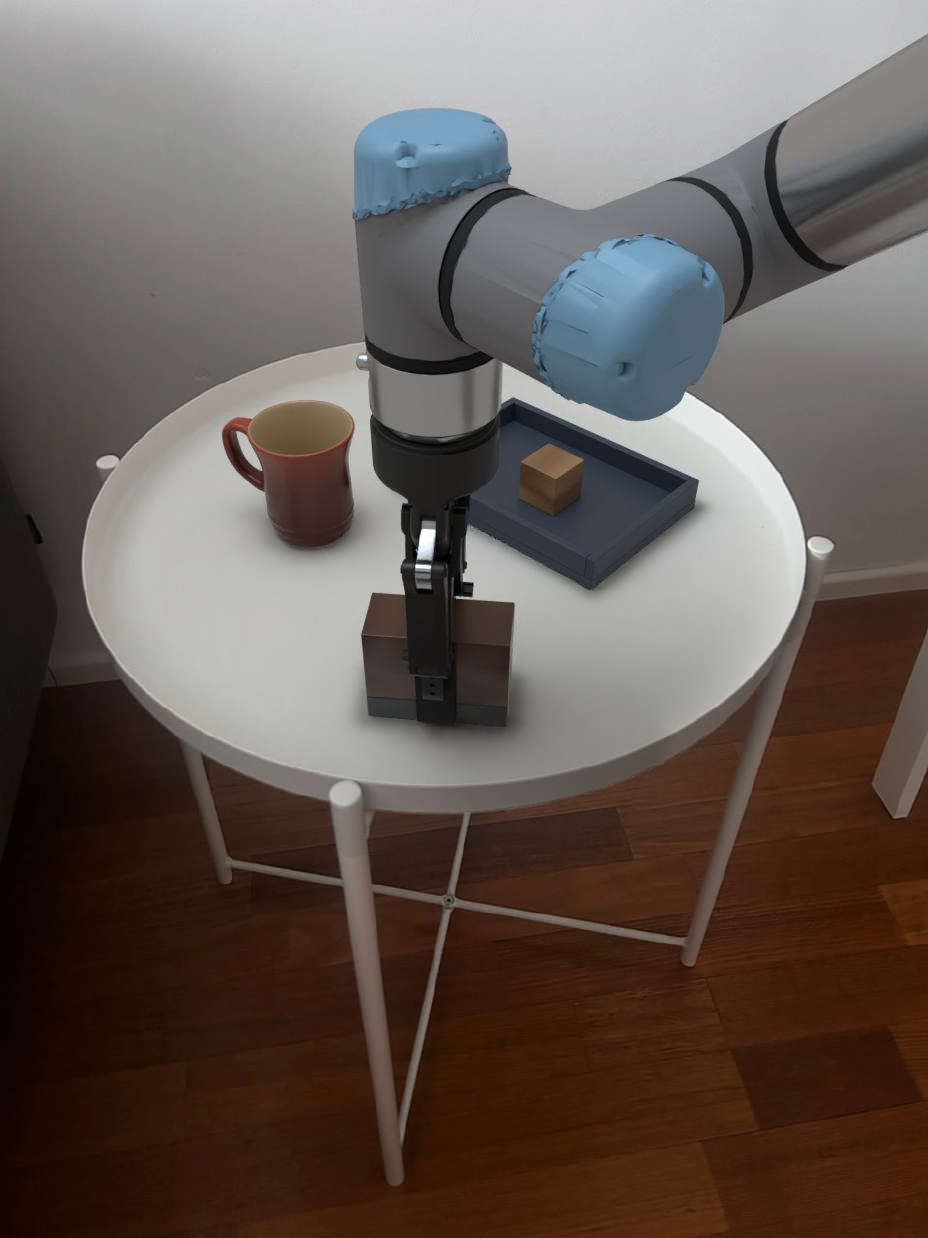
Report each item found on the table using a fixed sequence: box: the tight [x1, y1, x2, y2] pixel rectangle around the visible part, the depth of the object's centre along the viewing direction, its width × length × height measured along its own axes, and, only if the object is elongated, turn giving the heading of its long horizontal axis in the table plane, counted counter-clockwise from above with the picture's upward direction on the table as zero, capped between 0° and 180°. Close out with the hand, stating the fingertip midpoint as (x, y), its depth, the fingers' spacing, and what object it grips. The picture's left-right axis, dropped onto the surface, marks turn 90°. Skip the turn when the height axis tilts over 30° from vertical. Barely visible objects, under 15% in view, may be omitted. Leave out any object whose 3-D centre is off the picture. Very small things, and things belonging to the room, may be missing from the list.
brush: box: [360, 592, 516, 727], centre depth 71 cm, size 10×4×8 cm, turn 84°
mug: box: [221, 399, 356, 548], centre depth 86 cm, size 12×9×10 cm
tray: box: [468, 396, 700, 591], centre depth 91 cm, size 22×16×3 cm
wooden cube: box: [519, 444, 584, 516], centre depth 89 cm, size 4×4×4 cm
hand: (440, 692), depth 73 cm, fingers closed on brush, 4 cm apart
